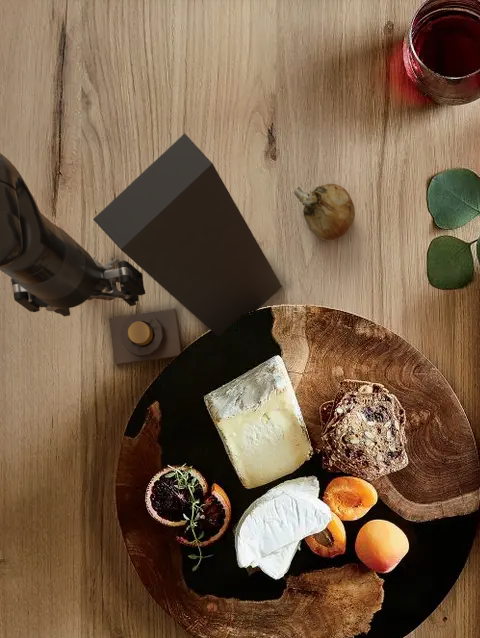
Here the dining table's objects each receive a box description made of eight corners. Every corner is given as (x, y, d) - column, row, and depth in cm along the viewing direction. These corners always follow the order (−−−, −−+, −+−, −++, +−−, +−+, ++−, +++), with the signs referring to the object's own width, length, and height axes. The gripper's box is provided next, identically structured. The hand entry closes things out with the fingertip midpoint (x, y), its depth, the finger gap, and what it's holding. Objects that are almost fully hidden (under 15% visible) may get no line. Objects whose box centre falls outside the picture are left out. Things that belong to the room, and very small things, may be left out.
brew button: (132, 346, 121) (129, 344, 119) (130, 325, 121) (126, 322, 119) (154, 343, 120) (151, 341, 119) (151, 322, 120) (148, 319, 119)
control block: (117, 365, 123) (111, 362, 120) (110, 318, 123) (104, 315, 120) (182, 356, 123) (178, 353, 120) (176, 309, 123) (172, 305, 120)
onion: (314, 254, 122) (308, 236, 114) (297, 202, 122) (290, 181, 114) (363, 237, 122) (360, 219, 114) (346, 186, 122) (342, 164, 114)
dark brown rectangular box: (151, 262, 123) (8, 127, 79) (210, 207, 122) (99, 40, 78) (223, 341, 122) (120, 249, 78) (282, 286, 122) (212, 163, 78)
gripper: (-11, 308, 89) (49, 340, 105) (120, 287, 89) (159, 323, 105) (-21, 240, 89) (40, 283, 105) (109, 219, 89) (150, 265, 106)
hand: (99, 303), depth 105 cm, fingers open, 8 cm apart
